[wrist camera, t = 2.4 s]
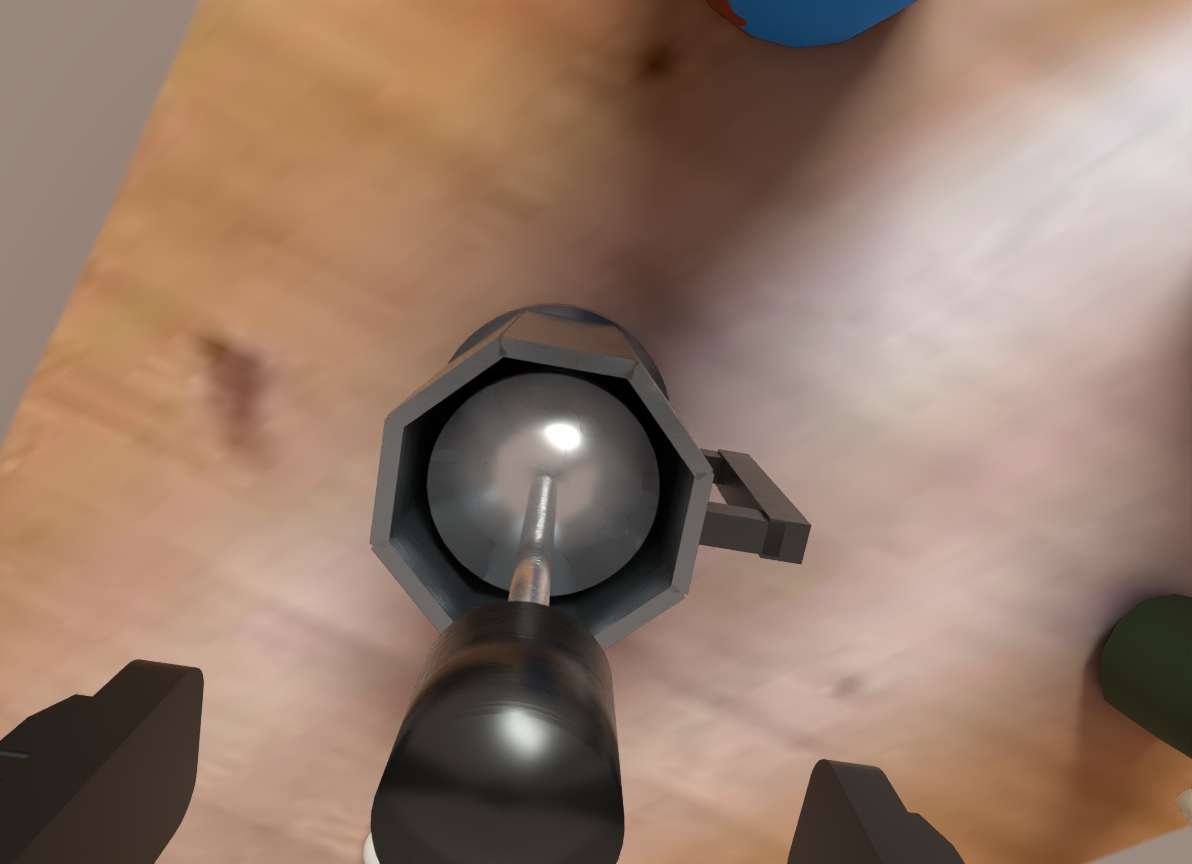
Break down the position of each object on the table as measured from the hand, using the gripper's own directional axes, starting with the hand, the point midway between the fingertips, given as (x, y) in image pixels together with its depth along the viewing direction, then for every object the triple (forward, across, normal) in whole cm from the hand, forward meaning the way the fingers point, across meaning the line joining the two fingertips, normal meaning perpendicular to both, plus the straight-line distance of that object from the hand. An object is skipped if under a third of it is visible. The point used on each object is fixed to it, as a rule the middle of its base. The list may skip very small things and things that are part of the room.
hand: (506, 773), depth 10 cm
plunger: (+14, 0, 0) cm, 14 cm away
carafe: (+23, -1, 0) cm, 23 cm away
